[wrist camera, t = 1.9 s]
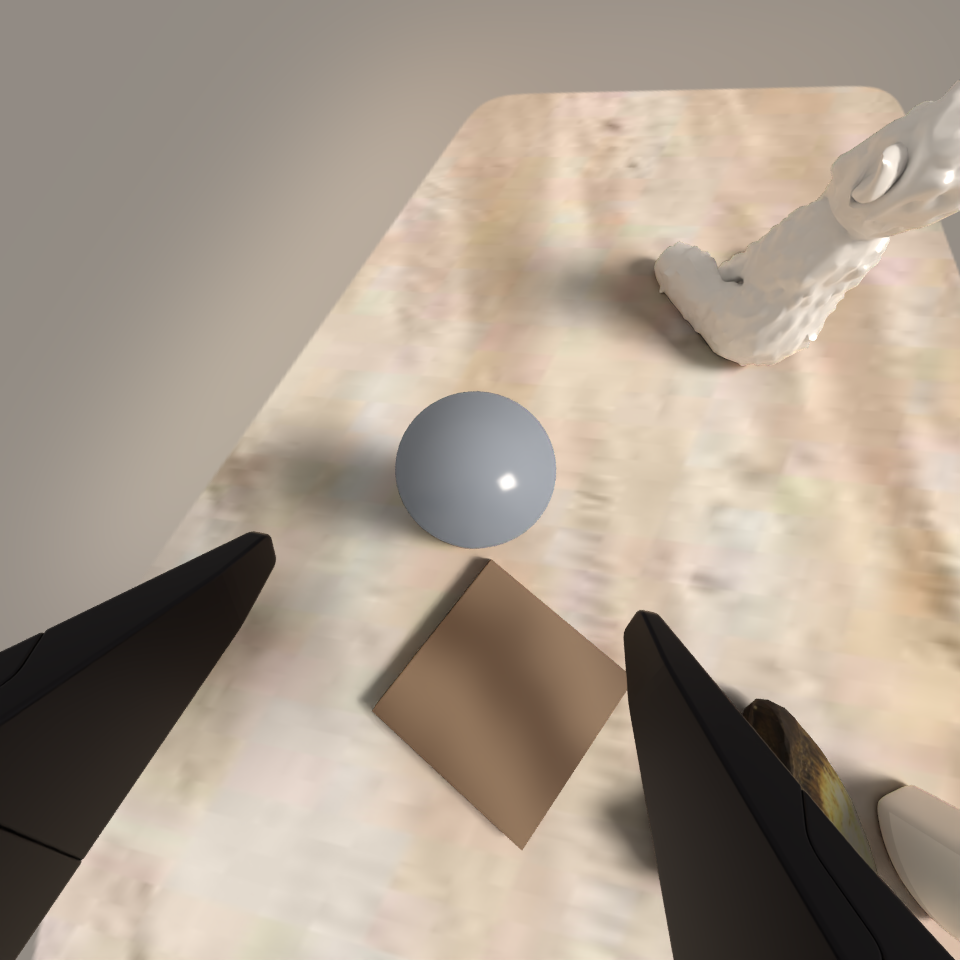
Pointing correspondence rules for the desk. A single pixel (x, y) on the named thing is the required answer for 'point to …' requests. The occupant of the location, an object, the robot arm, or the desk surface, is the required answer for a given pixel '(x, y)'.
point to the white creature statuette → (821, 241)
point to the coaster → (504, 701)
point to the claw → (809, 769)
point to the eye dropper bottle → (925, 851)
